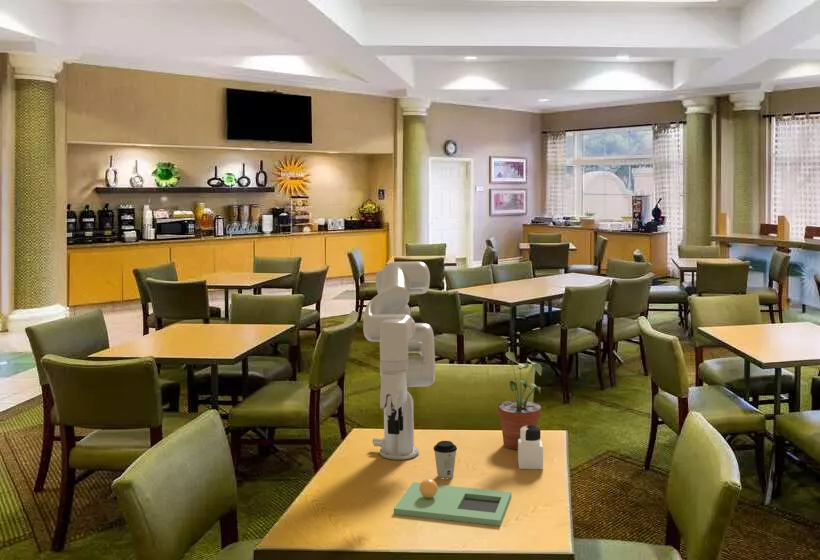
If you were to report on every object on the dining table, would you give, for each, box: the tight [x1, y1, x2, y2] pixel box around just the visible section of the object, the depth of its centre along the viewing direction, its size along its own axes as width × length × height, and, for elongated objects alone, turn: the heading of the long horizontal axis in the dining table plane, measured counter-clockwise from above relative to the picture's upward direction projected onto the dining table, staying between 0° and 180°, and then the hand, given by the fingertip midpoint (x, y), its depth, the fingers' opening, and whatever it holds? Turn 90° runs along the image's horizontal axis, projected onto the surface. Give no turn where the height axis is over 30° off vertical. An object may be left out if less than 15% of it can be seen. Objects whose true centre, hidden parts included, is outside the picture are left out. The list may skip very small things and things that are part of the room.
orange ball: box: [419, 478, 438, 498], centre depth 195 cm, size 5×5×5 cm
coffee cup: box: [433, 440, 458, 480], centre depth 213 cm, size 7×7×10 cm
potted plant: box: [497, 351, 543, 450], centre depth 236 cm, size 16×15×35 cm
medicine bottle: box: [517, 425, 544, 470], centre depth 220 cm, size 7×7×12 cm
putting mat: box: [393, 481, 512, 527], centre depth 193 cm, size 28×18×2 cm, turn 73°
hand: (395, 431), depth 195 cm, fingers open, 2 cm apart
